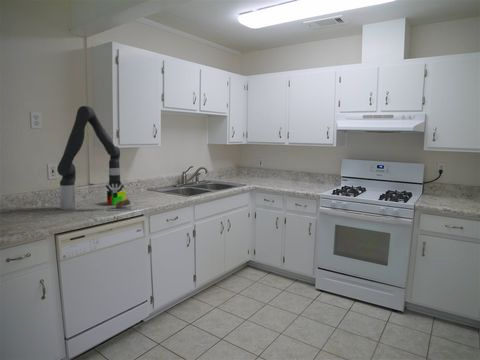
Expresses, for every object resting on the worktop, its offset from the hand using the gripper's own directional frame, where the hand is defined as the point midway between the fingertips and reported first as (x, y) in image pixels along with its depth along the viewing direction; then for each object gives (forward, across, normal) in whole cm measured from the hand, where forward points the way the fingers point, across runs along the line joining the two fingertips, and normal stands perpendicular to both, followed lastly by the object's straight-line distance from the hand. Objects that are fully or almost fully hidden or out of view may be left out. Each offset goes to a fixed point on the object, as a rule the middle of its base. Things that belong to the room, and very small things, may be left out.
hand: (115, 197), depth 236 cm
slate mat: (+8, +3, 0) cm, 9 cm away
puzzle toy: (+8, 0, +18) cm, 20 cm away
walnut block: (+6, 0, 0) cm, 6 cm away
